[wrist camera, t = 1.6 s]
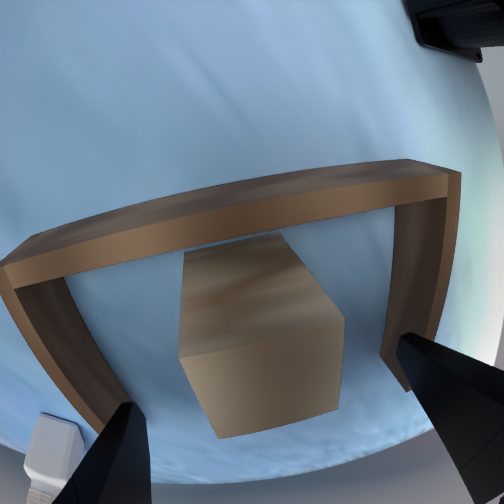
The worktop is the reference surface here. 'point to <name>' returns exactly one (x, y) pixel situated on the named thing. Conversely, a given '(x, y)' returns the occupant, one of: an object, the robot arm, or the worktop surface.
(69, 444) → the salt shaker
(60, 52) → the worktop surface
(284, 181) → the wooden u-shaped frame
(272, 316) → the maple block
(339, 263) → the worktop surface
